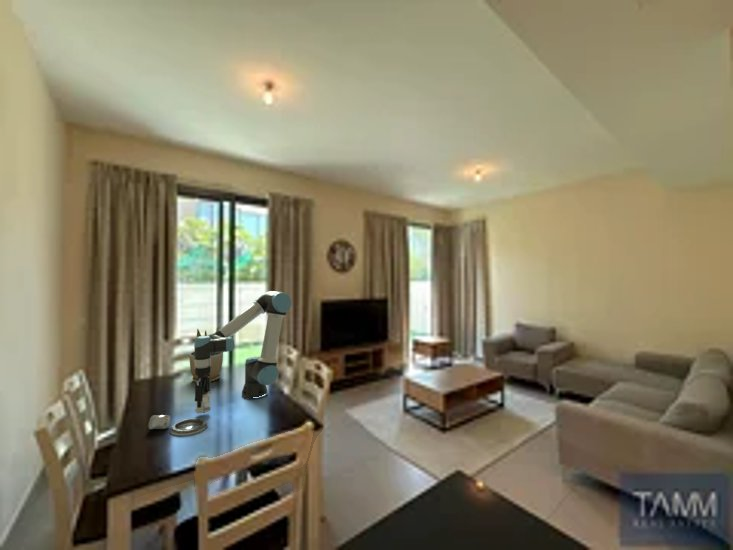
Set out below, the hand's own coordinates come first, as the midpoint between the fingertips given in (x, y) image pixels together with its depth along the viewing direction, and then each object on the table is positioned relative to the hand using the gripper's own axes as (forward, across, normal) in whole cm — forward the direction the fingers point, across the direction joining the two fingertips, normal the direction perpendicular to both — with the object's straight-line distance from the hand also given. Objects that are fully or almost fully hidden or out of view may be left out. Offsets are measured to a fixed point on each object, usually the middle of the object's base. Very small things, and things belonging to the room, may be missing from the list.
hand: (202, 409), depth 181 cm
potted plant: (+4, -60, -21) cm, 64 cm away
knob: (0, 0, 0) cm, 0 cm away
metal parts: (+2, +15, -5) cm, 16 cm away
